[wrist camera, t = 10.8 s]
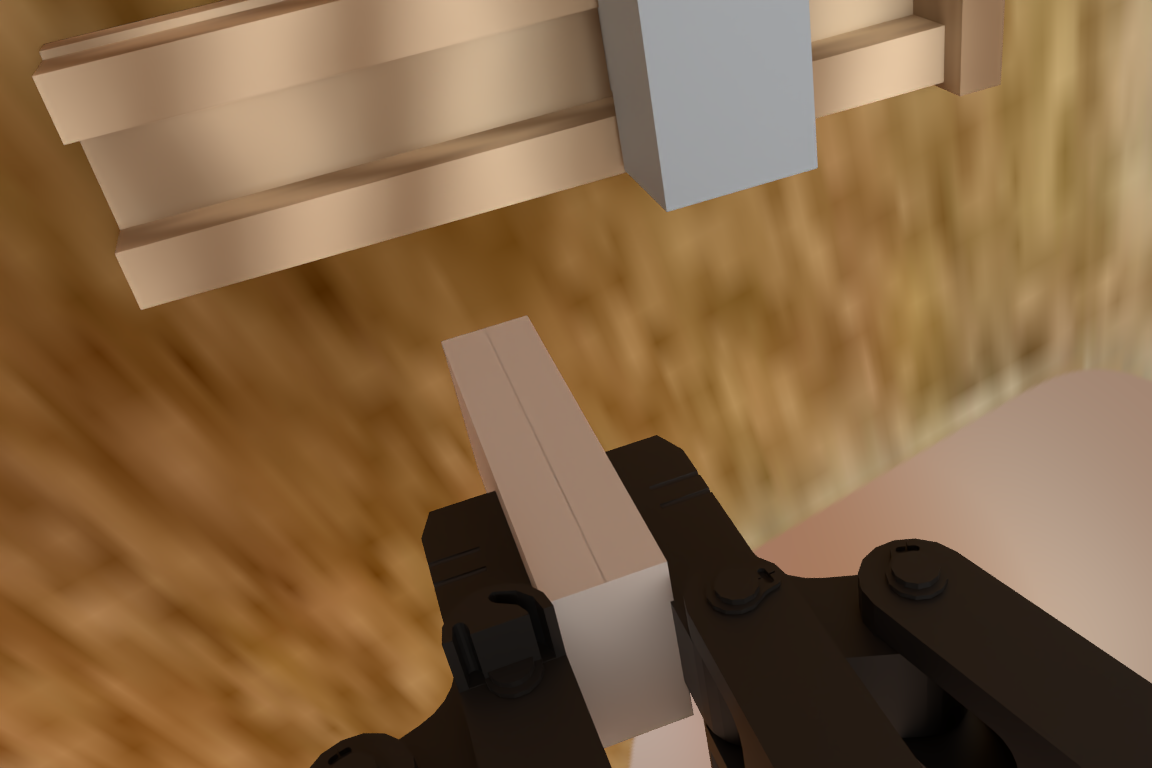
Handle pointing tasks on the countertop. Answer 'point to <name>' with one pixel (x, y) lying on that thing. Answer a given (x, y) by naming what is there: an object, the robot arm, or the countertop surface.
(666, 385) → the countertop surface
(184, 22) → the rail
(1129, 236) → the countertop surface
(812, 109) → the rider
